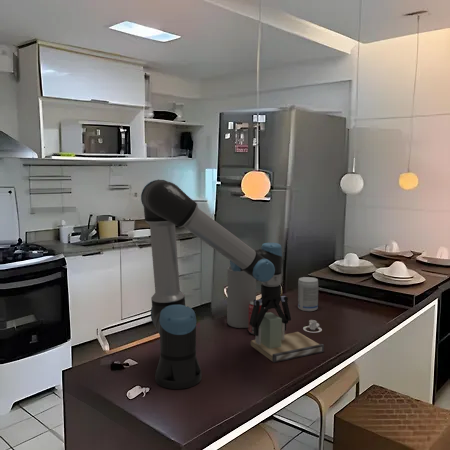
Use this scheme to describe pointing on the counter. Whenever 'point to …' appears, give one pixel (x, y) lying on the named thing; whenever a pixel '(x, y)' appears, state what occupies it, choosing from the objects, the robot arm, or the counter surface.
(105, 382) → the counter surface
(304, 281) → the supplement tub
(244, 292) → the cylinder vase
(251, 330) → the soda can
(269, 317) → the carton
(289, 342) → the shelf board
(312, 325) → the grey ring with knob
